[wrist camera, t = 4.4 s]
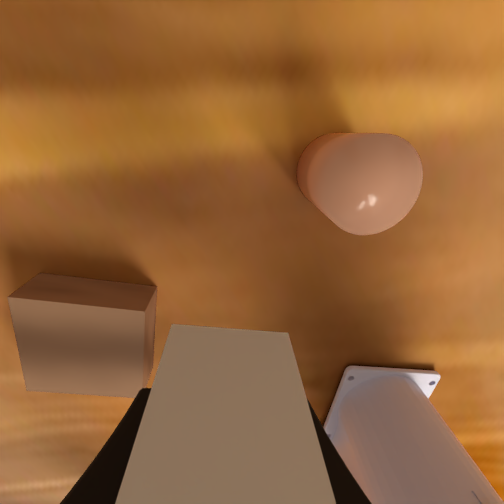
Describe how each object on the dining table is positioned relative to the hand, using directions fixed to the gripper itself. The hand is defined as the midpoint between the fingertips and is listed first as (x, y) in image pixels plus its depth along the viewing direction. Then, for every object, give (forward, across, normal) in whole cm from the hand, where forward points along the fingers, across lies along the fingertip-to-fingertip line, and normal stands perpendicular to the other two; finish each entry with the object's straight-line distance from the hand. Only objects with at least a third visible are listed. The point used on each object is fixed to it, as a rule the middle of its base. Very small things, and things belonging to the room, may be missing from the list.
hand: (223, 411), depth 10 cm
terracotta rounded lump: (+9, -5, -8) cm, 13 cm away
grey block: (+2, 0, 0) cm, 2 cm away
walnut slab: (+9, +8, +4) cm, 13 cm away
